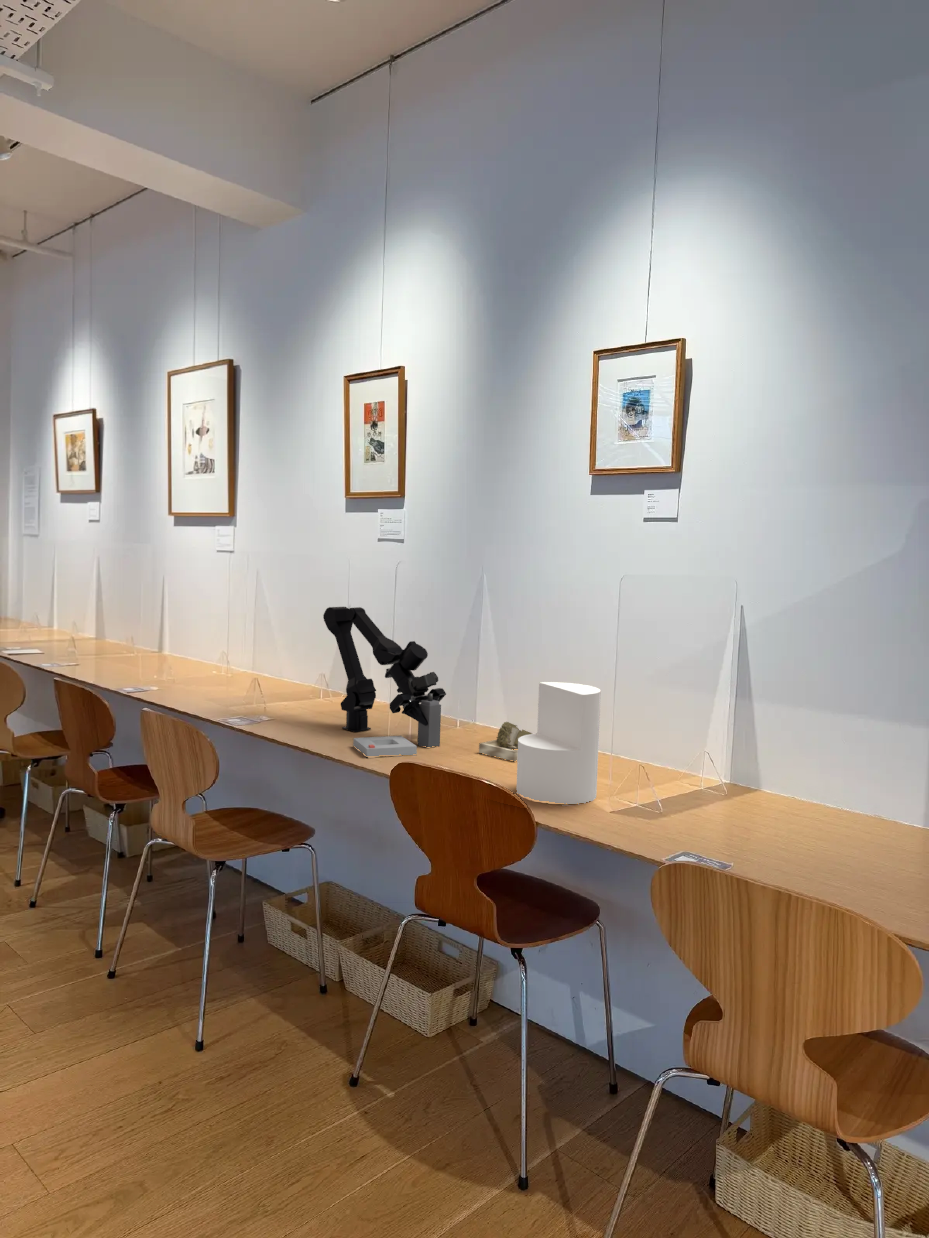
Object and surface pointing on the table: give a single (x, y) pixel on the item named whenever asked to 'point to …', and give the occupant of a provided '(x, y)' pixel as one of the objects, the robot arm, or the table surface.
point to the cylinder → (562, 745)
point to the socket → (385, 746)
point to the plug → (430, 723)
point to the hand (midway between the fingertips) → (432, 723)
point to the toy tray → (498, 750)
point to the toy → (510, 735)
